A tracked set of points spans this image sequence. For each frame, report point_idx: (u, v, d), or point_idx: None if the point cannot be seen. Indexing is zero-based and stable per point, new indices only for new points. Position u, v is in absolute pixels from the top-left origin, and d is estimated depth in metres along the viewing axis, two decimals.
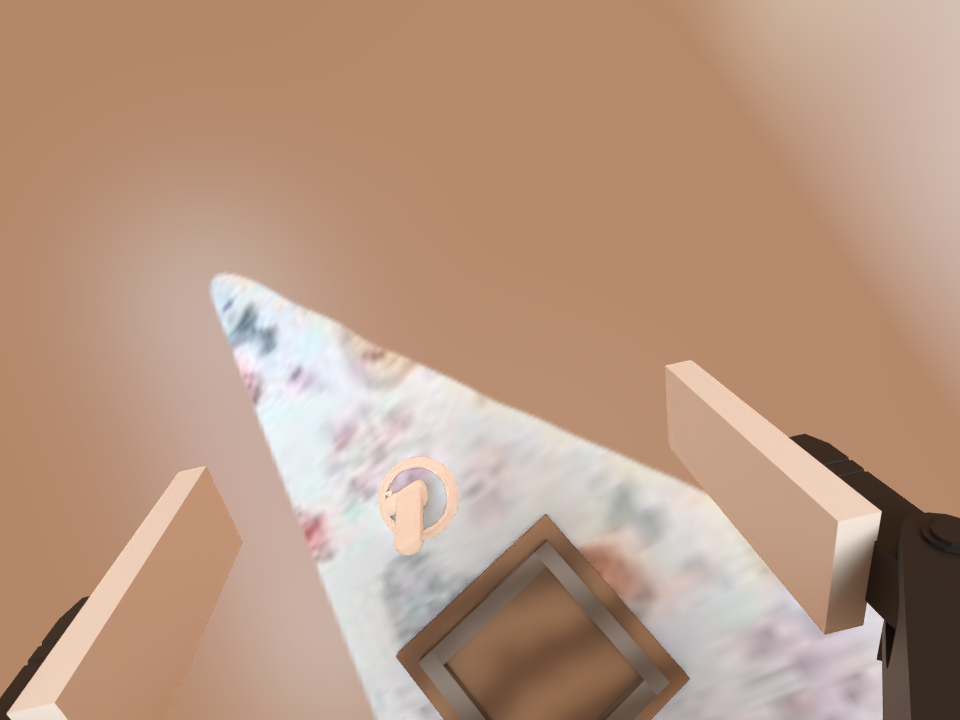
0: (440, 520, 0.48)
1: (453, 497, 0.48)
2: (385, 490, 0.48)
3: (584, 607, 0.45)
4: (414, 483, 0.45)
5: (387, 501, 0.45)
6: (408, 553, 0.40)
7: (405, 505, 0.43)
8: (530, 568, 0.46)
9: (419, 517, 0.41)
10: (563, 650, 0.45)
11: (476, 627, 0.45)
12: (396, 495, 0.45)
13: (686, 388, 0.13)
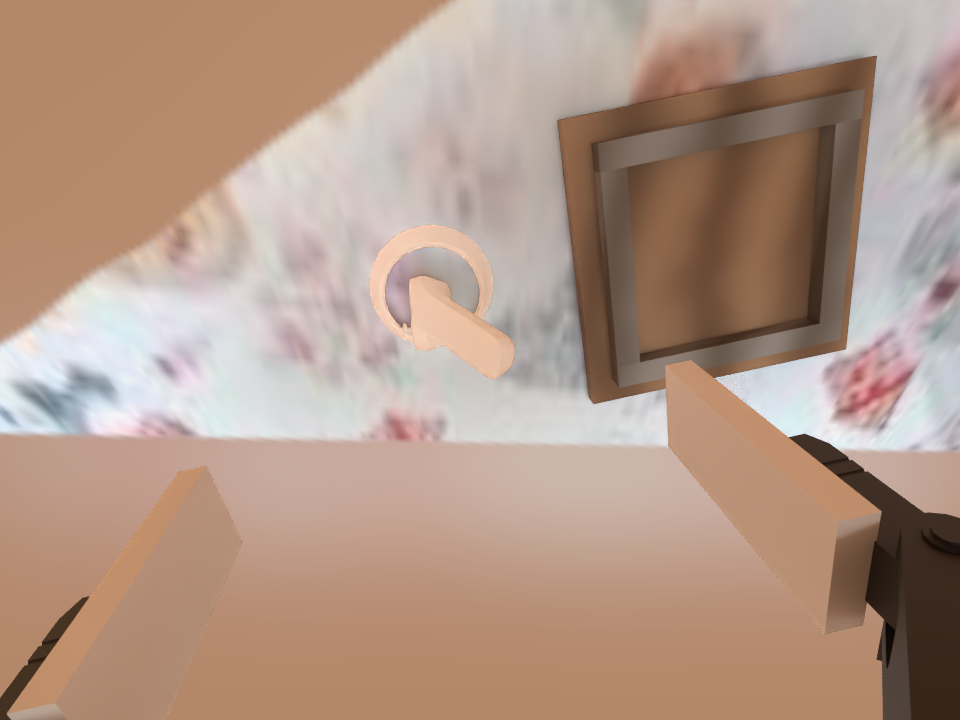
0: (479, 277, 0.31)
1: (458, 241, 0.31)
2: (399, 328, 0.32)
3: (707, 146, 0.29)
4: (412, 293, 0.28)
5: (417, 341, 0.29)
6: (509, 364, 0.25)
7: (438, 326, 0.27)
8: (614, 191, 0.29)
9: (468, 321, 0.25)
10: (725, 209, 0.31)
11: (631, 303, 0.32)
12: (416, 326, 0.28)
13: (686, 388, 0.13)
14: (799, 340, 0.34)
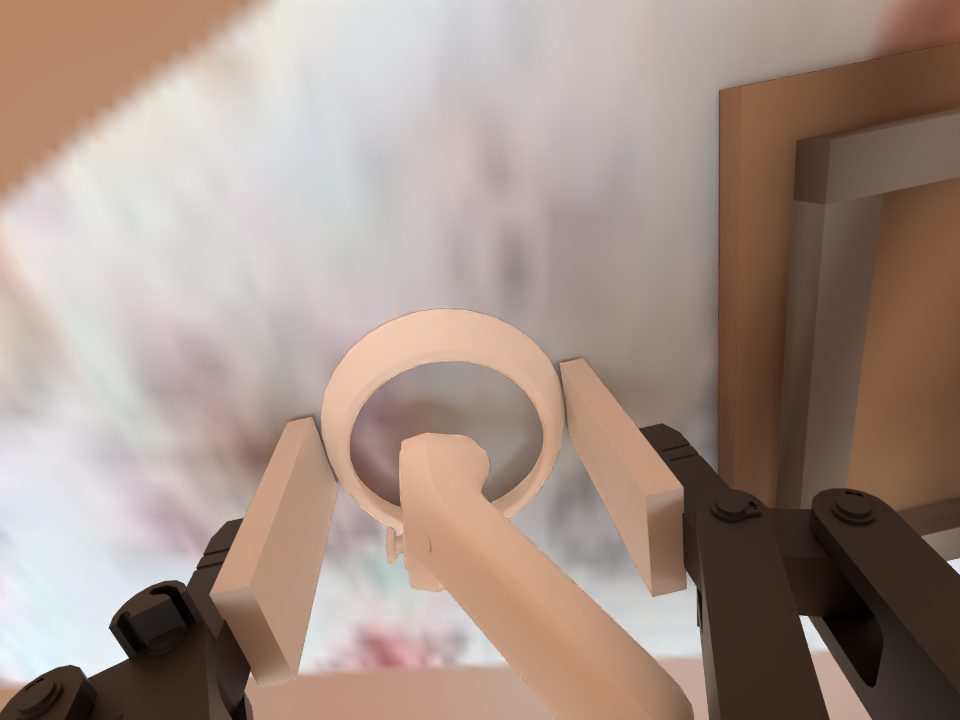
0: (545, 418, 0.15)
1: (505, 346, 0.15)
2: (380, 515, 0.16)
3: None
4: (407, 491, 0.12)
5: (417, 584, 0.13)
6: None
7: (471, 596, 0.11)
8: (847, 246, 0.13)
9: (561, 627, 0.09)
10: None
11: (841, 458, 0.16)
12: (415, 559, 0.12)
13: (571, 383, 0.15)
14: None
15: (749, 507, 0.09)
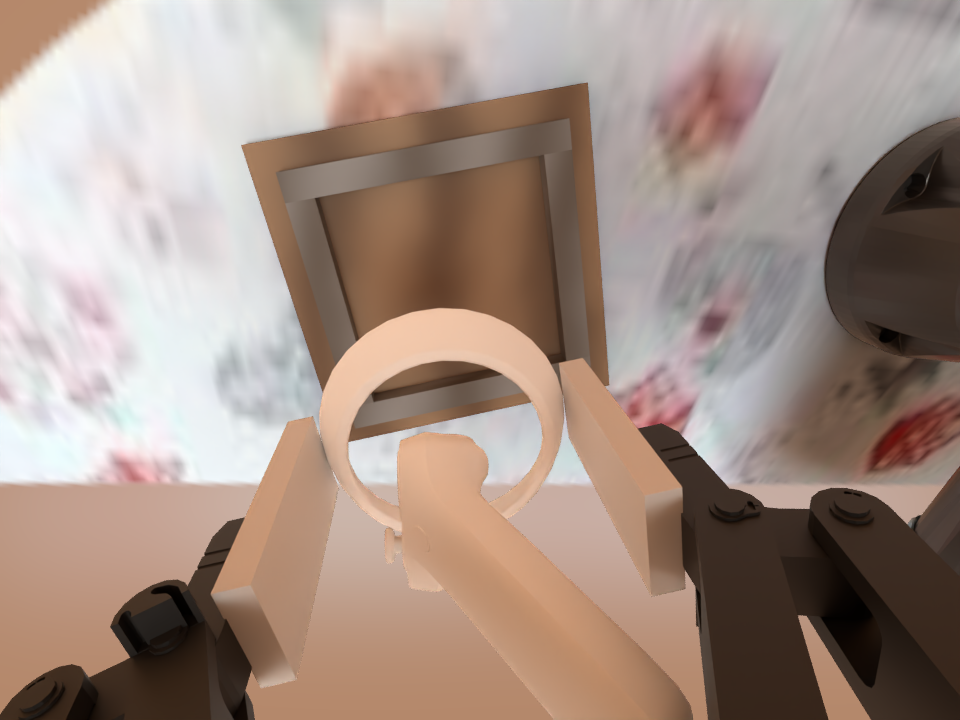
0: (544, 417, 0.15)
1: (503, 346, 0.15)
2: (378, 515, 0.16)
3: (403, 177, 0.27)
4: (405, 491, 0.12)
5: (416, 584, 0.13)
6: None
7: (469, 597, 0.11)
8: (306, 224, 0.27)
9: (559, 627, 0.09)
10: (448, 241, 0.29)
11: (350, 341, 0.30)
12: (413, 559, 0.12)
13: (570, 383, 0.15)
14: None
15: (747, 506, 0.09)
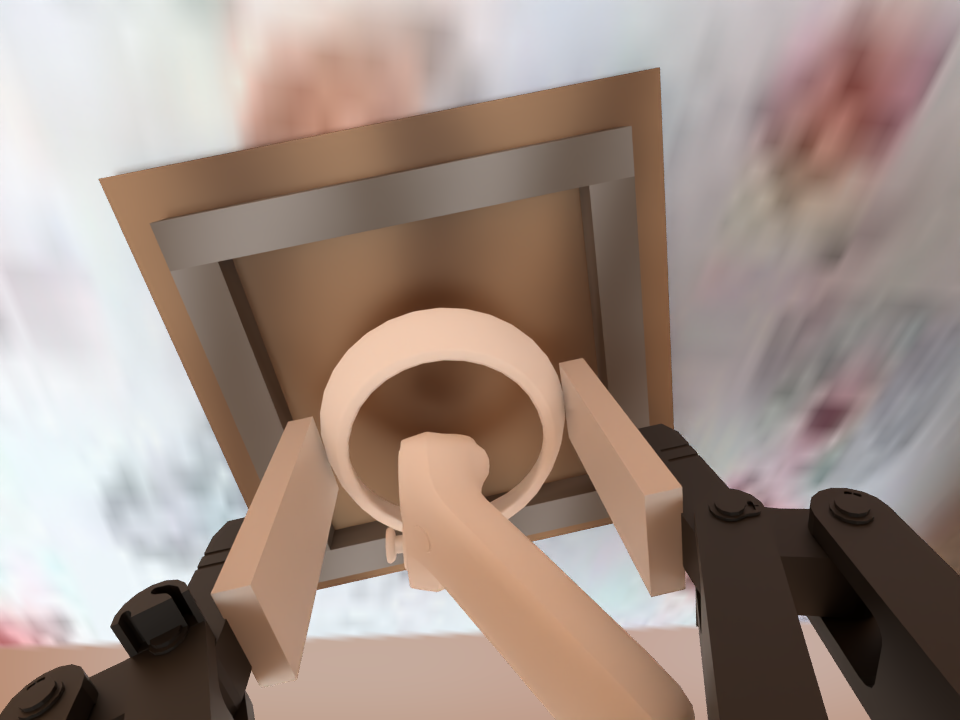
0: (545, 417, 0.15)
1: (504, 345, 0.14)
2: (379, 514, 0.16)
3: (361, 226, 0.16)
4: (406, 490, 0.12)
5: (417, 584, 0.13)
6: None
7: (471, 596, 0.11)
8: (207, 302, 0.17)
9: (560, 627, 0.09)
10: None
11: None
12: (414, 559, 0.12)
13: (570, 383, 0.15)
14: (588, 510, 0.22)
15: (747, 506, 0.09)
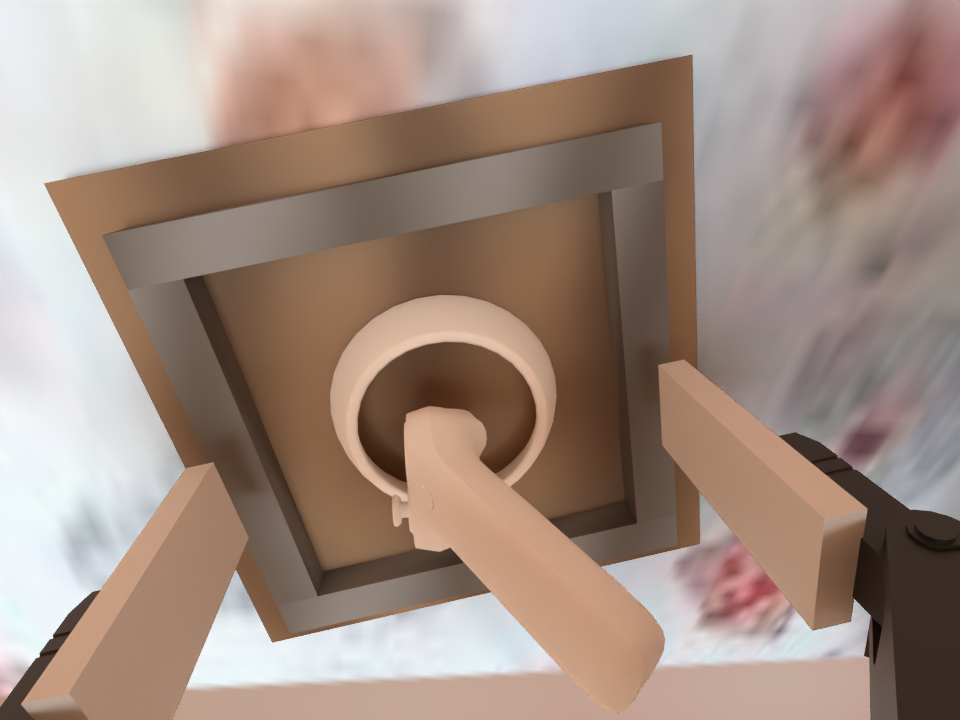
0: (538, 395, 0.16)
1: (500, 329, 0.16)
2: (385, 486, 0.17)
3: (349, 238, 0.14)
4: (412, 456, 0.13)
5: (421, 543, 0.14)
6: None
7: (470, 546, 0.12)
8: (172, 325, 0.15)
9: (548, 565, 0.10)
10: None
11: (271, 509, 0.17)
12: (418, 519, 0.14)
13: (678, 387, 0.14)
14: (605, 549, 0.20)
15: None
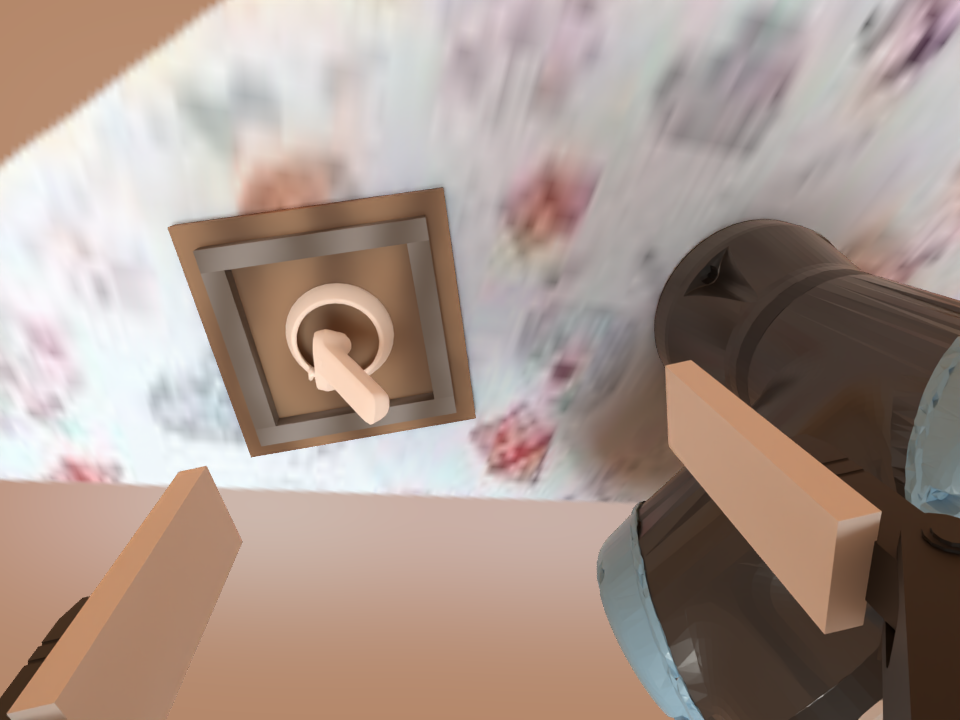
0: (378, 330, 0.37)
1: (361, 299, 0.36)
2: (309, 369, 0.37)
3: (295, 257, 0.34)
4: (314, 345, 0.33)
5: (319, 384, 0.34)
6: (384, 413, 0.31)
7: (332, 376, 0.32)
8: (217, 289, 0.35)
9: (353, 376, 0.31)
10: (336, 303, 0.37)
11: (255, 378, 0.37)
12: (317, 372, 0.34)
13: (686, 388, 0.13)
14: (419, 412, 0.40)
15: None
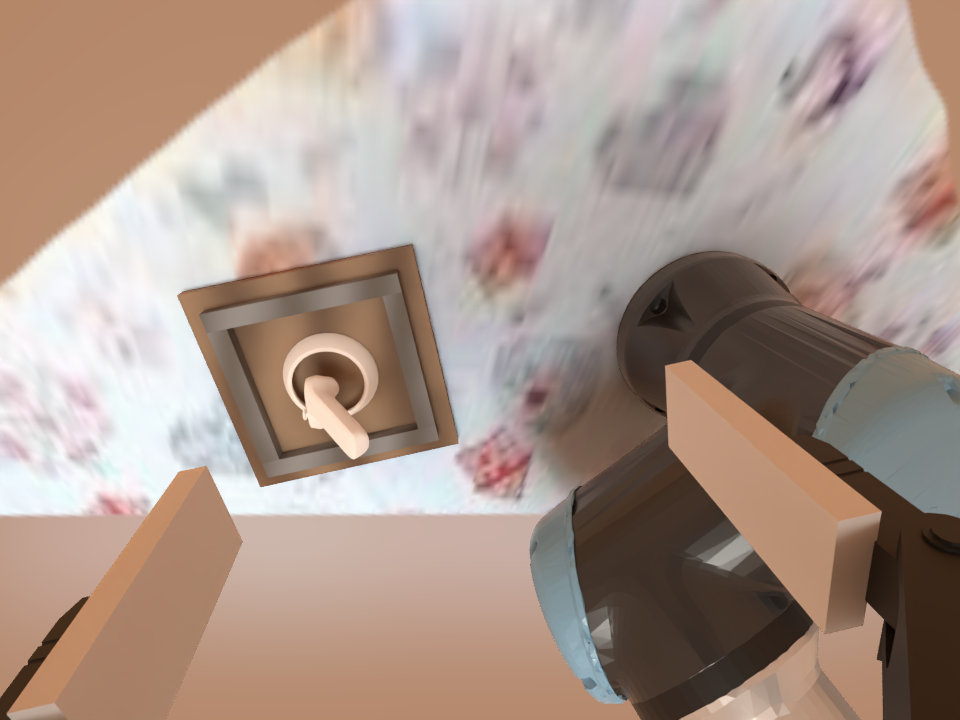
0: (363, 372, 0.42)
1: (346, 346, 0.41)
2: (304, 409, 0.42)
3: (286, 314, 0.40)
4: (305, 391, 0.38)
5: (311, 424, 0.40)
6: (365, 449, 0.36)
7: (320, 418, 0.37)
8: (221, 345, 0.40)
9: (337, 418, 0.36)
10: None
11: (259, 419, 0.43)
12: (309, 414, 0.39)
13: (686, 388, 0.13)
14: (405, 441, 0.45)
15: None
